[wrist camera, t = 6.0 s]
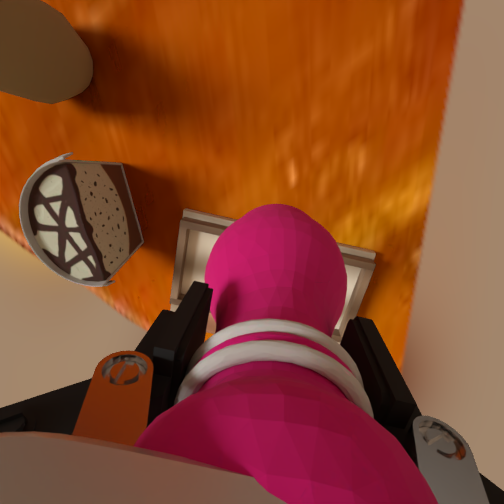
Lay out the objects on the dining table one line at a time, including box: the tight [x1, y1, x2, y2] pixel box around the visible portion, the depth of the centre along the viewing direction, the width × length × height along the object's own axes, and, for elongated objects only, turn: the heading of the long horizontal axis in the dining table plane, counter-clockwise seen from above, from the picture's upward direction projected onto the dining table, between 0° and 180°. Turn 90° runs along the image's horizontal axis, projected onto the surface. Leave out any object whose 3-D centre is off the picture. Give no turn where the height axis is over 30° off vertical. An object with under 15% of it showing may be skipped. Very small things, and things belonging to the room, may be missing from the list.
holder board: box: [170, 208, 376, 344], centre depth 37 cm, size 15×22×2 cm
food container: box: [19, 152, 144, 287], centre depth 32 cm, size 12×6×10 cm, turn 9°
